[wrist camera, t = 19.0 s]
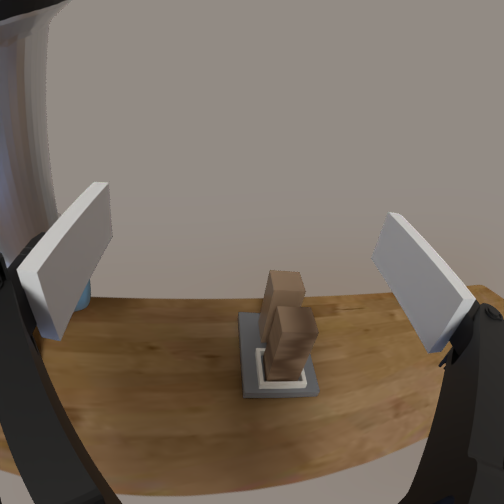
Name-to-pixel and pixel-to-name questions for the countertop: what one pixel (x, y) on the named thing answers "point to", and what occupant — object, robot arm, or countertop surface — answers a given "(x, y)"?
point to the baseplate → (250, 366)
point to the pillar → (289, 343)
